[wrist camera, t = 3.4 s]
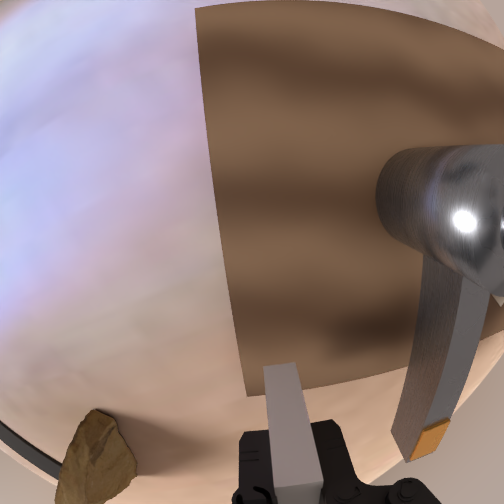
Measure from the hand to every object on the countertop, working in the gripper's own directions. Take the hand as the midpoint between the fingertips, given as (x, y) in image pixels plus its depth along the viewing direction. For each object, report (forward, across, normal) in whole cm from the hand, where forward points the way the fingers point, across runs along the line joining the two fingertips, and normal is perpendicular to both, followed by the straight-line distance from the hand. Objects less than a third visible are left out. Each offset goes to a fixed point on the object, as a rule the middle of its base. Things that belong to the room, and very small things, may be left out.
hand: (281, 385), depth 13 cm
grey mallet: (+2, +8, +2) cm, 9 cm away
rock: (+5, -16, -12) cm, 21 cm away
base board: (+5, +9, +8) cm, 13 cm away
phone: (+5, -34, -20) cm, 40 cm away
